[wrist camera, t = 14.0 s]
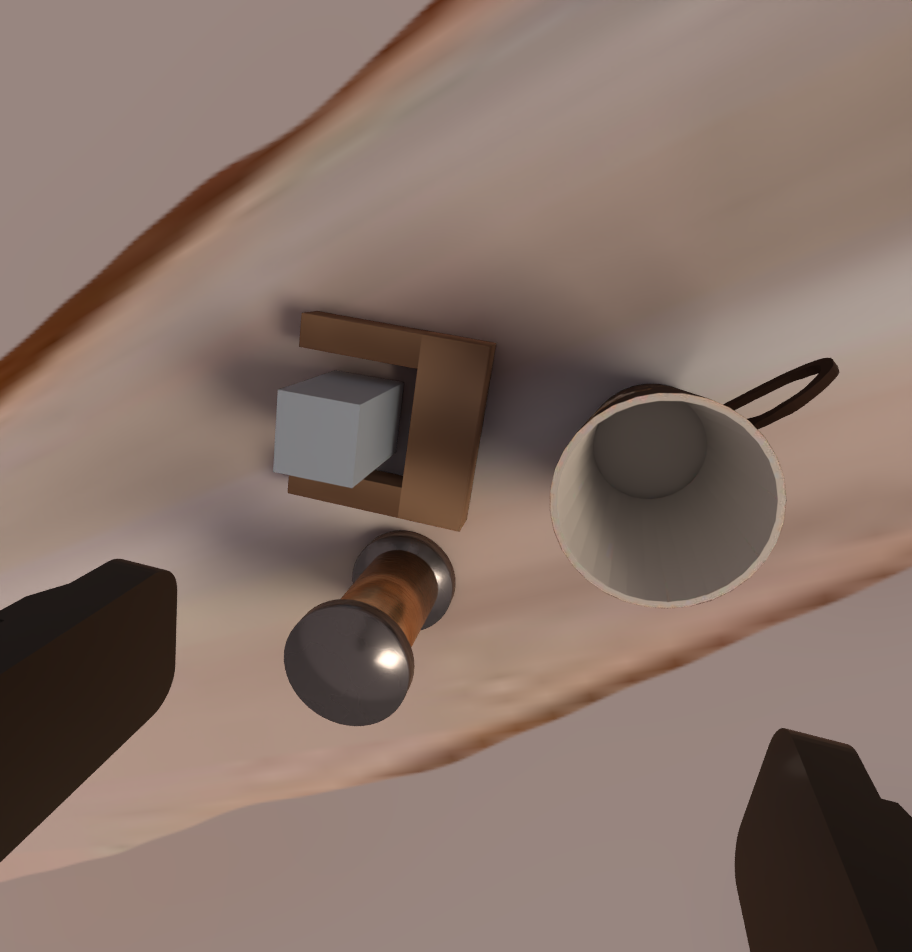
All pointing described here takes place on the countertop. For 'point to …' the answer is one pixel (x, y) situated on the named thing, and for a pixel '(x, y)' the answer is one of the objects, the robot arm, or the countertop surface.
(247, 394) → the countertop surface
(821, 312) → the countertop surface
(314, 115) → the countertop surface
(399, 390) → the grey rectangular block
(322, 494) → the u-shaped bracket
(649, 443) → the coffee mug
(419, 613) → the bobbin
